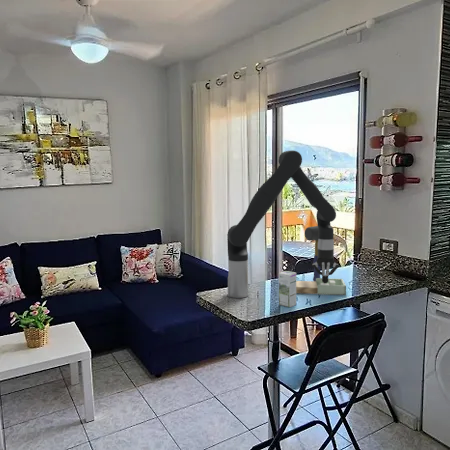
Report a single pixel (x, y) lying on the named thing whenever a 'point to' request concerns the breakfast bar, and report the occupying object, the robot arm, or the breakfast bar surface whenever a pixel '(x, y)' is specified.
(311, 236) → the rubber mallet
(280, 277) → the syrup box
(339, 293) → the tray
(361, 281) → the breakfast bar surface
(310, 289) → the board
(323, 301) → the breakfast bar surface
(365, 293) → the breakfast bar surface
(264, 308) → the breakfast bar surface
